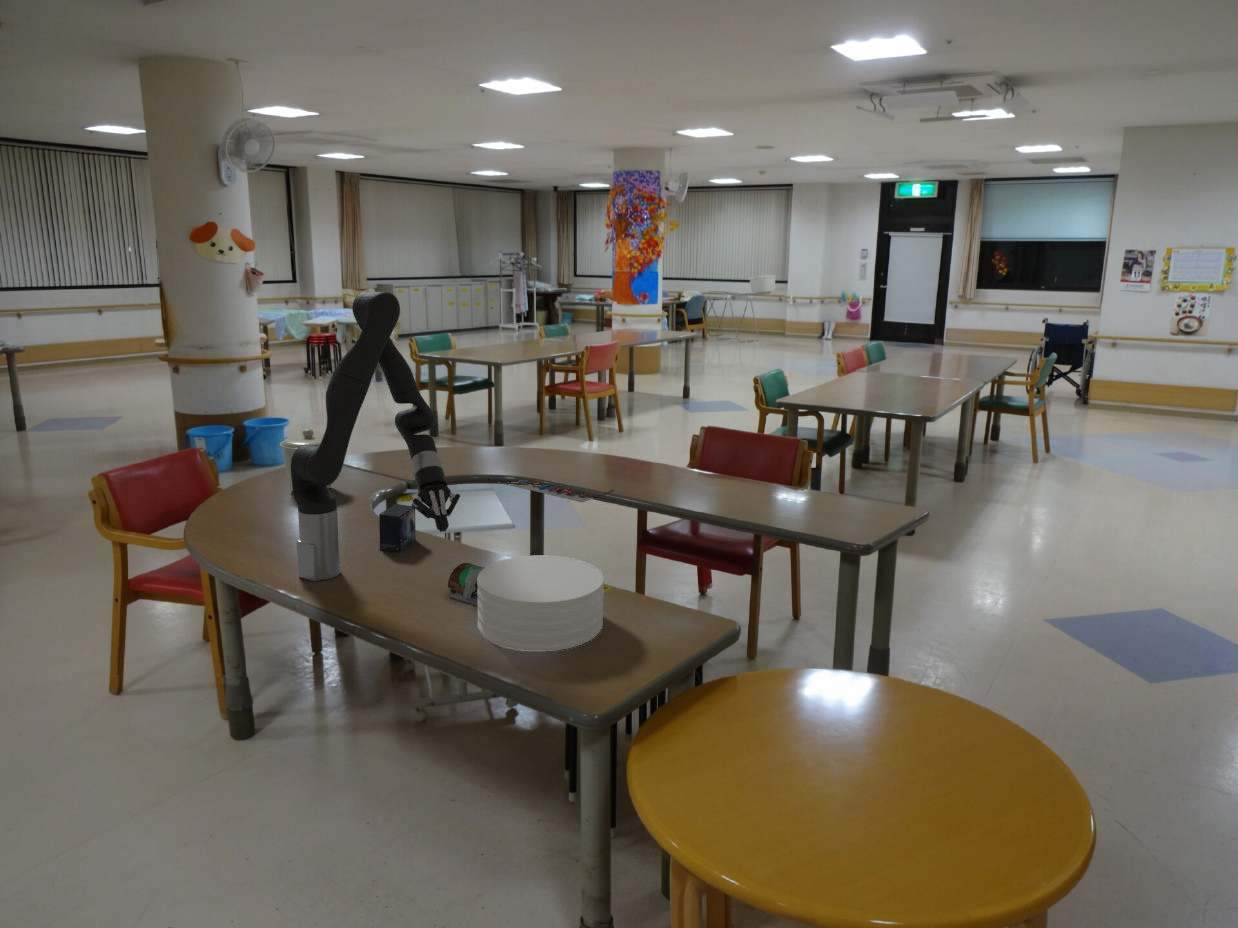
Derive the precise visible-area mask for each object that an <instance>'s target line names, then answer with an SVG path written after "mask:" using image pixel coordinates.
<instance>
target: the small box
mask: <svg viewBox="0 0 1238 928" xmlns="http://www.w3.org/2000/svg"><path fill="white" fill-rule="evenodd" d="M378 515H379V516H378V519H379V523H378V525H379V526H378V528H379V550H380V551H381V550H382V551H388V552H397V553H400V552H401V551H403V550H404V549H406V548H407V547H409V546H410V545H411V544H413V543H414V542H415V541H417V540H416V539H417V538H416V537H417V535H416V532H417V531H416V509H415V508H414V507H413V506H412V505H406V504H401V503H400V504H398V503H395V504H393V505H392V506H390V507H389V508H387V509H385V510H383V511H382V512H380V513H379V514H378ZM408 545H409V546H408Z"/></svg>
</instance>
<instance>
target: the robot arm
mask: <svg viewBox="0 0 1238 928" xmlns="http://www.w3.org/2000/svg"><path fill="white" fill-rule="evenodd" d="M398 299H399V298H397V297H396V296H395V294H393V293H392V292H386V291H364V292H360V293H359V294H358V295H357V296H355V298H354V299H353V302H352V309H351V310H352V314H353V318H354V319H355V321H356V323H357V325H358V327H359V328H360V330H361V332H360V335H359V337H358V338H357V340H356V342H355V343H354V344H353V345H352V347H351V348H350V349H349V350H348V351H347V352H346V354H345V355H343V357H342V358H341V359H340V360H339V362H338V363H337V365H335V368H334V369H333V373H332V375H331V377H330V378H329V379H330V380H329V381H328V382H329V383H328V385H327V388H326V391H325V410H326V428H325V431H324V434H323V435H324V436H323V439H322V441H321V444H320V446H315V445H302V446H300V447H299V448H297V449H296V451H295V452H294V454H293V456H292V459H291V479H292V487H293V490H292V495H293V497H294V501H295V503H296V505H297V515H298V517H297V518H298V533H299V539H298V540H297V541H296V555H297V557H296V558H297V559H296V560H297V569H298V571H297V573H298V577H299V578H302V579H305V580H309V581H311V582H319V581H323V580H329V579H333V578H337V576H339V575H340V573H341V561H340V540H339V519H338V516H339V515H338V501H337V497H336V496H335V495H334V493H332V492H331V491H330V490H329V489H328V488H327V485H330V484H333V483H334V482H335V481H337V479H338V478H339V476H340V474H341V471H342V469H343V467H344V463H345V460H346V459H345V458H346V455H347V451H348V447H349V443H350V441H351V437H352V434H353V431H354V428H355V425H356V422H357V419H358V418H359V417H358V416H359V414H360V411H361V408H362V406H363V403H364V401H365V399H366V396H367V394H368V391H369V389H370V385H371V382H372V380H373V377H374V374H375V371H376V369H377V366H378V364H379V366H380V368H381V371H382V372H383V376H384V377H385V378H384V379H385V380H386V381H385V382H386V384H387V386H388V389H389V392H390V394H391V397H392V399H393V401H394V403H396V404H400V405H403V404H404V405H406V404H412V405H413V406H414V407H411V408H407V409H403V410H401V411H399V412H397V413H396V414H395V417H394V425H395V427H396V429H397V431H398V432H399V434H400V435H401V436H402V438H403V440H404V441H405V443H406V446H407V448H408V452H409V456H410V461H411V464H412V466H411V467H412V473H413V477H414V479H415V483H416V486H417V490H418V494H417V497H415V498H413V499H412V502H411V506H413V507H414V508H415V511H417V512H419V513H420V514H422V515H423V516H424V517H425V518H426V519H433V520H434V523H435V527H436V530H437V531H439V532H440V533H444V532H447V530H448V529H449V526H450V525H449V521H448V517H451V514H452V513H453V511H454V509H455V507H456V505H457V504H458V502H459V499H460V497H461V495H460V494H459V493H456V494H455V493H453V492H451V489H450V488H449V487H448V484H447V480H446V476H445V472H444V468H443V465H442V461H441V459H440V457H439V453H438V450H437V447H436V442H435V439H434V438H433V437H432V436H431V435H430V434H421V433H423V432H427V431H430V430H432V429H433V428H434V427H435V425H436V420H437V419H436V416H435V413H434V412H433V410H432V409H431V407H430V406H429V404H427V402H426V401H425V399H424V398H423V395H422V394H421V392H420V391H419V388H418V385H417V383H416V379H415V377H414V375H413V371H412V369H411V367H410V365H409V364H408V362H407V360H406V359H405V357H404V356H403V354H401V352H400V351H399V350H398V348H397V346H395V344H394V342H393V340H392V339H391V336H392V333H393V331H394V329H395V327H396V326H397V324H398V321H399V319H400V316H401V315H400V313H401V305H400V302H399V300H398ZM448 500H449V501H450V505H449V506H448V508H446V507H447V506H446V504H447V501H448Z"/></svg>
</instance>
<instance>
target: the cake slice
mask: <svg viewBox="0 0 1238 928" xmlns="http://www.w3.org/2000/svg"><path fill="white" fill-rule="evenodd" d="M485 567H486V566H484V567H483V566H481V565H478V564H477V565H476V564H473V563H470V562H463V563H460V564H459V565H457V566H456V567H455V568H454V569H453V570H452V572H451V573H450V574H449V575H450V576H449V577H448V581H447V587H448V588H449V589H451V590H452V591H455V593H456V592H457V593H459V594H461V595H463V598H465V599H470V600H471V597H473V596H476V595H477V589H478V586H477V577H478V575H479V573H480V572H481V571H482V570H483V569H484V568H485Z"/></svg>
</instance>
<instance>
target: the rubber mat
mask: <svg viewBox="0 0 1238 928" xmlns="http://www.w3.org/2000/svg"><path fill="white" fill-rule="evenodd" d="M449 599H452V600H455V601H459V602H462V603H466V604H469V605H472V606H476V607H478V606H477V600H478V596H477V595H476V596H473V597H471V600H470V599H465V598H463V595H461V594H459V593H457V592H456V591H455V593H452V594H450V595H449Z"/></svg>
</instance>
